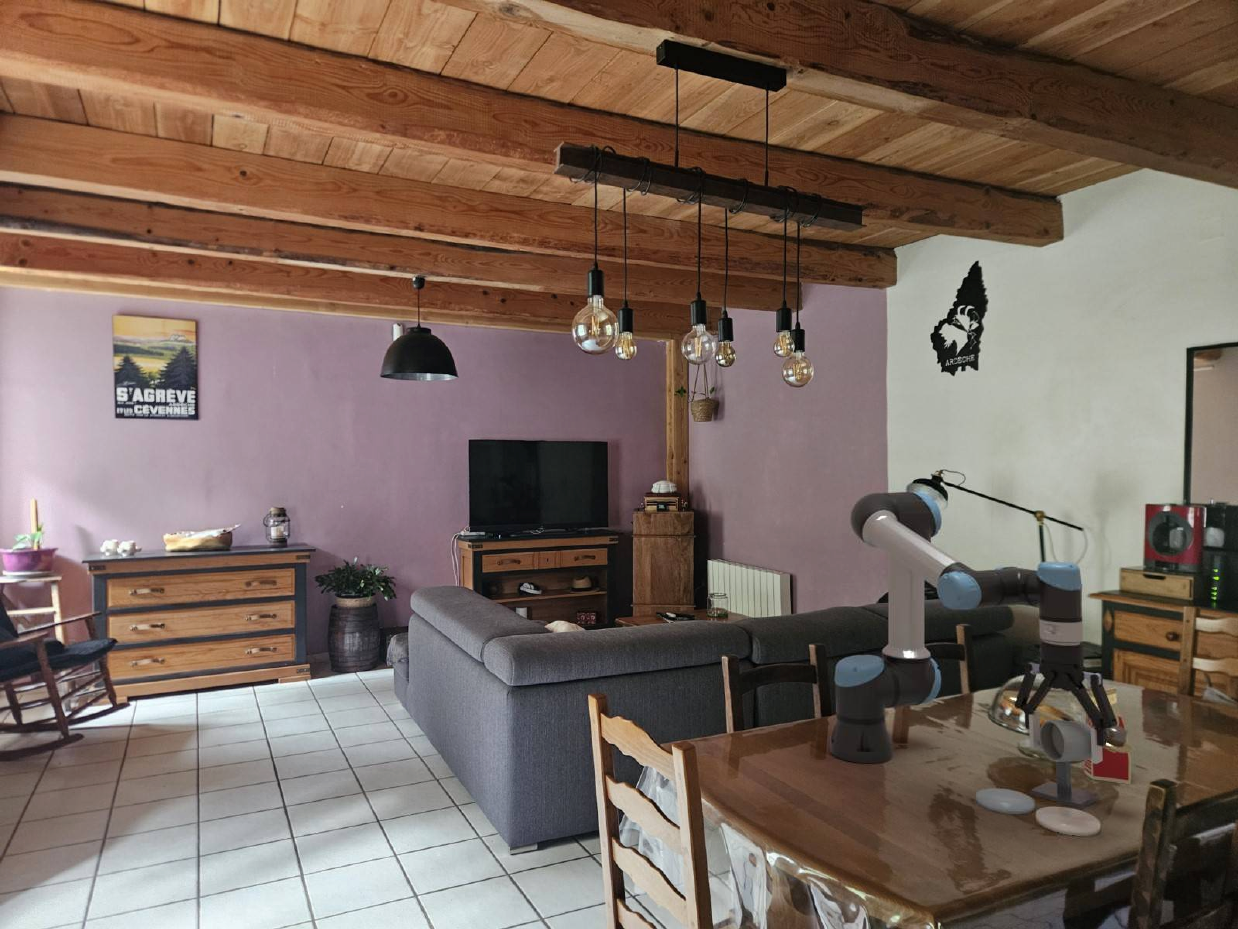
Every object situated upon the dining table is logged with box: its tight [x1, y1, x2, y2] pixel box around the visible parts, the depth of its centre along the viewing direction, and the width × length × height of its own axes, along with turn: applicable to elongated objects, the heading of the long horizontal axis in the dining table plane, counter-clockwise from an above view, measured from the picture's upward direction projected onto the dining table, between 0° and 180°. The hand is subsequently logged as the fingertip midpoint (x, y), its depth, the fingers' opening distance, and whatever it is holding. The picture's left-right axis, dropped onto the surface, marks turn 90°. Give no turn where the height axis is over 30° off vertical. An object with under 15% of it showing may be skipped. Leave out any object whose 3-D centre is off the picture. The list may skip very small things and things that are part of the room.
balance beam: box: [1002, 690, 1131, 753], centre depth 169 cm, size 26×6×5 cm, turn 36°
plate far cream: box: [1035, 806, 1101, 837], centre depth 156 cm, size 11×11×1 cm
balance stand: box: [1030, 715, 1099, 810], centre depth 169 cm, size 10×8×16 cm
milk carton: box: [1083, 687, 1132, 785], centre depth 181 cm, size 9×9×20 cm
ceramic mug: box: [1039, 720, 1093, 763], centre depth 158 cm, size 11×8×8 cm
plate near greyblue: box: [975, 788, 1036, 815], centre depth 166 cm, size 11×11×1 cm
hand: (1065, 754), depth 157 cm, fingers closed on ceramic mug, 11 cm apart
